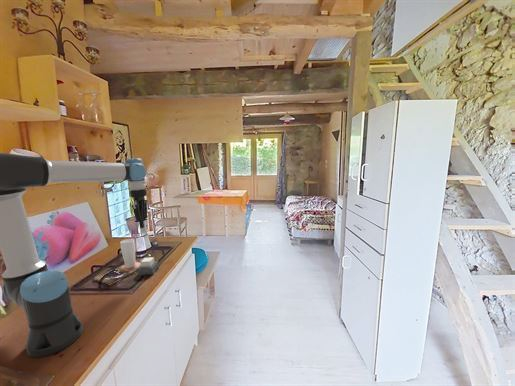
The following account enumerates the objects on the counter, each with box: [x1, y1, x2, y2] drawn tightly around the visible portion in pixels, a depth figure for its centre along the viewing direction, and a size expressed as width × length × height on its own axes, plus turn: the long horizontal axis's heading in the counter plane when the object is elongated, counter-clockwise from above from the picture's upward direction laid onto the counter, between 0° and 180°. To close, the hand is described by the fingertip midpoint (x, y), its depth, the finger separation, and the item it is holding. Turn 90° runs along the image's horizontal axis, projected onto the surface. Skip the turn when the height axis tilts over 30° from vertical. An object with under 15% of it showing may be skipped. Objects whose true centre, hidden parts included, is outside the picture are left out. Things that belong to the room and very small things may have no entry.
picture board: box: [93, 260, 141, 285], centre depth 131 cm, size 22×13×1 cm, turn 151°
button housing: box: [136, 260, 160, 277], centre depth 131 cm, size 8×8×4 cm
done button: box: [140, 256, 155, 267], centre depth 130 cm, size 5×5×4 cm
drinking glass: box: [119, 238, 137, 268], centre depth 134 cm, size 7×7×15 cm
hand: (143, 233), depth 127 cm, fingers closed
